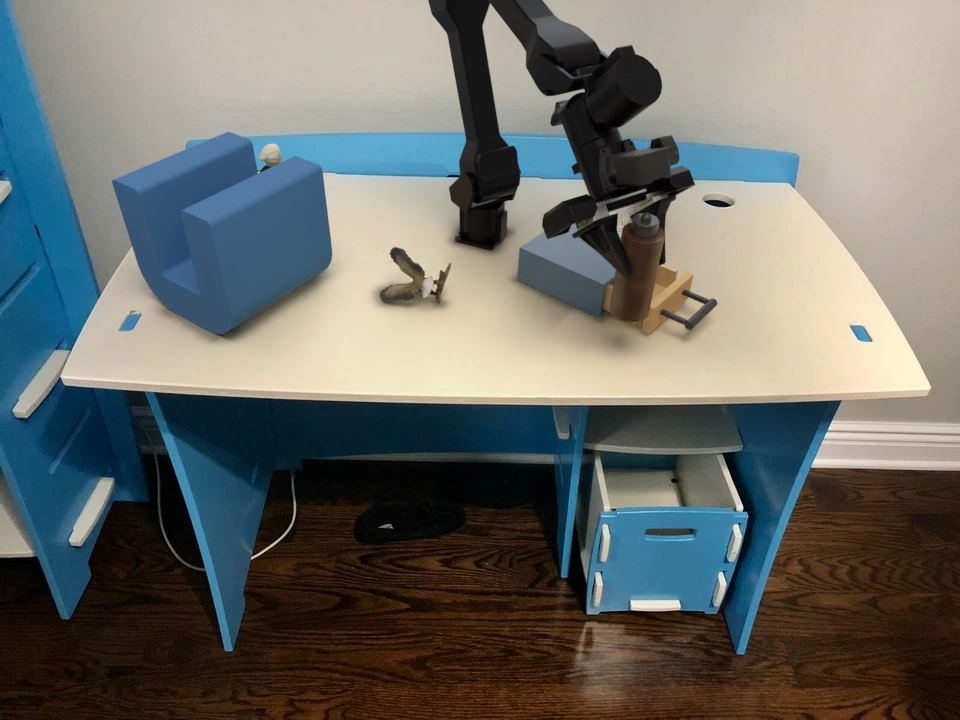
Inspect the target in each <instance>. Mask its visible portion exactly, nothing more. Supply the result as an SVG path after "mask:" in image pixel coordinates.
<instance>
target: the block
mask: <svg viewBox="0 0 960 720" xmlns="http://www.w3.org/2000/svg"><path fill="white" fill-rule="evenodd" d="M258 171H259V170H258V167H257V160H256V153H255V149H254V144H253V141H251V139H249V138H247V137H246V136H245V137H244V136H242V135H239V134H235V133H233V132H231V131H227V132H224V133H222V134H219V135H217V136H215V137H212V138H210V139H207V140H204V141H202V142H200V143H197V144H195V145H193V146H191V147H188V148H185V149H183V150H181V151H179V152H175V153H173V154H172V155H169V156H167V157H164V158H162V159H160V160H157V161H154V162H152V163H149V164H147V165H145V166H143V167H140V168H138V169H136V170H133V171H131V172H128V173H126V174H124V175H121V176H118V177H117V178H113V179H112V180H111V184H112V187H113V190H114V193H115V197H116V200H117V203H118V205H119V209H120V212H121V216H122V219H123V222H124V225H125V228H126V232H127V235H128V238H129V240H130V245H131V248H132V250H133V253H134V256H135V260H136V263H137V266H138V269H139V270H140V273H141V275H142V277H143V279H144V281H145V283H146V285H147V286H148V287H149V289H150V290H151V292H152V293H153V294H154V296H155V297H156V298H157V299H158V300H159V301H160V302H161V303H162V304H163V305H164V306H165V307H166V308H167V309H169V310H170V311H171V312H173V313H174V314H176V315H178V316H180V317H182V318H184V319H185V320H187V321H189V322H191V323H193V324H194V325H196V326H198V327H200V328H202V329H204V330H205V331H208V332H210V333H211V334H215V335H224V334H227V333H228V332H229V331H232V330H233V329H234V328H236V327H238V326H239V325H241V324H243V323H244V322H245V321H247V320H249V319H250V318H253V316H255V315H256V314H258V313H260V312H261V311H263V310H264V309H266V308H268V307H269V306H271V305H272V304H274V303H275V302H277V301H278V300H280V299H282V298H283V297H285V296H286V295H288V294H290V293H291V292H293V291H294V290H296V289H298V288H299V287H301V286H302V285H304V284H306V283H307V282H308V281H310V280H311V279H314V278H315V277H317V276H318V275H319V274H321V273H323V272H324V271H326V270H327V269H328V268H329V266H330V265H331V264H332V259H333V246H332V245H333V244H332V236H331V229H330V221H329V212H328V204H327V195H326V189H325V179H324V171H323V168H322V166H321V165H320V164H318V163H316V162H313V161H311V160H308V159H305V158H303V157H301V156H297V155H294V156H292V157H290V158H288V159H286V160H284V161H281V163H279V164H277V165H275V166H273V167H271V168H269V169H267V170H265V171H263V172H261V173H259V172H258Z"/></svg>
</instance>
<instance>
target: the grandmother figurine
mask: <svg viewBox="0 0 960 720" xmlns="http://www.w3.org/2000/svg"><path fill="white" fill-rule="evenodd" d="M258 160H259V161H260V162H264V163H265V165H264V166H262V168H261V169H260V170H259V172H258V173H261V172H263V171H265V170H267V169H269V168H271V167H273V166H275V165H277V164H279V163H281V162H282V156H281V148H280V146H279V145H277V144H276V143H268V144H266V145H265V146H264V147H262V149H261V151H260V153H259V155H258Z"/></svg>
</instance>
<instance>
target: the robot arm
mask: <svg viewBox="0 0 960 720" xmlns="http://www.w3.org/2000/svg"><path fill="white" fill-rule="evenodd" d="M427 1H428V5H429V9H430V13H431V15H432V16H433V18H434V19H435V21H437V23H438V24H439V25H440V27H441V28H442V30H444V32H445V33H446V36H447V40H448V41H447V42H448V46H449V51H450V57H451V63H452V68H453V74H454V79H455V85H456V89H457V90H456V91H457V96H458V97H457V98H458V102H459V108H460V113H461V120H462V123H463V124H462V125H463V130H464V135H465V143H464V146H463V149H462V152H461V154H460V157H459V161H458V165H459V166H458V167H459V177H458V178H457V179H456V180H454V182H453V183H452V184H451V185H450V186H449V187H448V191H449V197H450V201H451V202H452V203H453V204H454V205H456V206H457V207H458V208H459V218H458V219H459V221H458V222H459V225H458V226H459V231H458V233H457V234H456V235H454V241H456V242H458V243H462V244H467V245H471V246H474V247H478V248H482V249H487V250H494V249H495V248H496V247H497V245H498V244H499V243H500V242H501V241H502V240H503V239H504V238H505V236H506V235H507V233H508V230H509V229H508V213H509V212H508V210H505V209H506V202H508V201H510V202H511V201H514V199H515V197H516V193H517V191H518V188H519V186H520V184H521V174H522V170H521V168H520V164H519V159H518V150H517V148H516V146H515V145H509V144H508V142H507V141H506V140H505V139H504V138H503V136H502V135H501V132H500V125H499V121H498V115H497V108H496V102H495V96H494V90H493V88H494V87H493V83H492V77H491V71H490V66H489V59H488V58H489V57H488V53H487V46H486V40H485V34H484V23H485V20H486V18H487V14H488V12H489V8H490V5H491V6H492V7H493V9H494V10H495V11H496V13H497V14H498V16H499V17H500V18H501V19H502V21H503V22H504V23H505V25H506V26H507V28H509V30H510V31H511V32H512V34H513V35H514V36H515V38H516V39H517V40H518V42H519V43H520V44H521V46H522V47H523V49H524V51H525V68H526V70H527V71H528V74H529V76H530V77H531V79H532V81H533V82H534V84H535V86H536V87H537V89H538V90H539V92H540V93H541V94H542V95H543V96H545V97H554V96H555V97H556V96H560V95H563V94H569V93H574V92H578V91H581V90H584V91H582V92H578V93H575V94H574V95H572V96H571V97H570V98H569V99H564V100H559V101H556V102H555V105H554V110H553V112H552V114H551V117H550V123H549V124H550V126H551V127H556V126H557V127H558V126H560V125H562V128H563V130H564V132H565V135H566V137H567V141H568V143H569V146H570V148H571V151H572V153H573V157H574V159H575V161H576V163H574V164H573V165H572V166H571V170H572V173H573V175H574V176H575V175H578V174H580V175H581V177H582V179H583V180H582V181H583V182H584V185H585V188H586V190H587V193H586V194H582V195H579V196H576V197H575V196H574V197H572V198H569V199H565V200H562V201H561V202H559V203H558V204H557V205H555V206H554V207H552V208H550V210H548V211H546V212H545V213H543V215H542V221H541V227H542V230H543V232H545V235H546V237H547V239H550V238H553V237H556V236H559V235H562V234H566V233H568V232H569V230H570V227H571V225H572V224H576V227H577V230H578V231H577V232H575V233H573V234H572V236H573V238H577V237H579V238H580V239H582V240H583V241H584V242H585V243H587V244H588V245H589V246H590V247H592V248H593V249H594V250H596V251H597V252H598V253H599V254H600V255H601V256H602V257H603V258H604V259H605V260H606V261H607V262H609V263H610V264H611V265H612V266H613V267H614V268H615V269H616V270H617V271H618V272H619V273H620V274H621V275H622V276H623V277H624V278H627V277H630V276H631V275H632V272H631V268H630V264H629V261H628V259H627V256H626V253H625V251H624V248H623V245H622V243H621V240H620V237H621V236H620V235H619V233H618V222H619V221H618V220H619V213H618V212H617V213H613V214H610V213H611V212H614V211H617V210H621V209H624V208H627V207H630V206H633V207H634V209H635V212H634V213H632V214H631V215H630V216H629V218H630V220H631V221H632V218H633V216H634V215H636V214H640V213H650V214H651V215H654V216H656V217H657V218H658V219H659V227H660V228H662V229H663V231H664V232H665V233H666V218H667V213H668V211H669V209H670V206H671V204H672V203H673V202H675V201H676V199H677V196H679V195H680V194H681V193H684V192H685V191H687V190H689V189H691V188H693V187H695V186H696V183H695V180H694V178H693V175H692V172H691V170H690V169H689V168H687V167H685V166H683V165H679V166H676V167H673V168H671V167H672V166H674V165H678V164H679V162H680V151H679V146H678V145H677V142H676V141H675V139H674V137H673V135H672V134H671V135H663V136H659V137H655V138H652V139H651V141H650V145H649V147H646V148H642V149H637V147H636V145H635V143H634V141H633V140H631V138H627V139H623V137H622V135H621V132H620V129H619V128H621V127H624V126H626V124H628V123H630V121H632V120H633V119H634V118H636V117H637V116H639V115H640V114H641V113H643V112H644V111H645V110H647V109H648V108H649V107H650V106H652V105H654V103H656V102H657V101H658V100H659V98H660V97H661V93H662V90H663V80H662V76H661V74H660V72H659V69H658V68H656V67H655V66H654V65H653V63H651V61H649V60H648V59H647V58H645V57H644V56H642V55H640V54H637V53H636V51H635V49H634V46H633V45H632V44H627V45H622V46H617V47H616V48H614V49H613V51H611V52H610V53H609V55H608V54H606V52H604V51H603V50H602V49H600V47H599V46H598V44H597V42H596V41H595V40H594V39H593V38H592V37H590V35H588V33H586V32H585V31H584V30H582V29H581V28H580V27H579V26H576V25H574V24H571V23H569V22H566V21H564V20H562V19H560V18H559V17H557V16H556V15H555V13H553V11H552V10H551V9H550V7H549V6H548V5H547V4H546V3H545V1H544V0H427ZM666 260H667V259H666V237H665V238H664V243H663V248H662V253H661V257H660V262H659V266H660V265H662V264H665V265H666Z"/></svg>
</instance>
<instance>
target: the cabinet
mask: <svg viewBox="0 0 960 720" xmlns="http://www.w3.org/2000/svg"><path fill="white" fill-rule="evenodd" d="M577 231H578V230H577V227H576V224H572V225H571V227H570V230H569V232H568V233H566V234H562V235H559V236H556V237H553V238H550V239H547V237H546V235H545V232H544V231H543V232H541V233H539V234H538V235H536V236H534V237H533V238H531V239H530V240H528V241H527V242H526V243H524V244H522V245H521V246H519V248H518V265H517V281H519V282H520V283H523V284H525V285H527V286H529V287H530V288H531V287H532V288H533V289H536V290H537V291H539V292H542V293H544V294H546V295H548V296H550V297H553V298H555V299H557V300H559V301H561V302H563V303H565V304H567V305H569V306H572V307H574V308H576V309H578V310H581V311H583V312H585V313H587V314H589V315H591V316H593V317H595V318H597V319H600V318H601V317H602V316H604V315H605V314H606V313H607V312H608V311H606V310H604V309H602V305H603V298H604V292H605V286H606V285H607V284H609V283H610V282H611V281H613V280H614V277H615V271H616V269H615V268H614V267H613V266H612V265H611V264H610V263H609V262H607V261H606V260H605V259H604V258H603V257H602V256H601V255H600V254H599V253H598V252H597V251H596V250H594V249H593V248H592V247H590V246H589V245H588V244H587V243H585V242H584V241H583V240H582V239H580V238H579V237H577V238H573V236H572V234H573V233H575V232H577ZM619 237H620V240H621V236H619Z"/></svg>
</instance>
